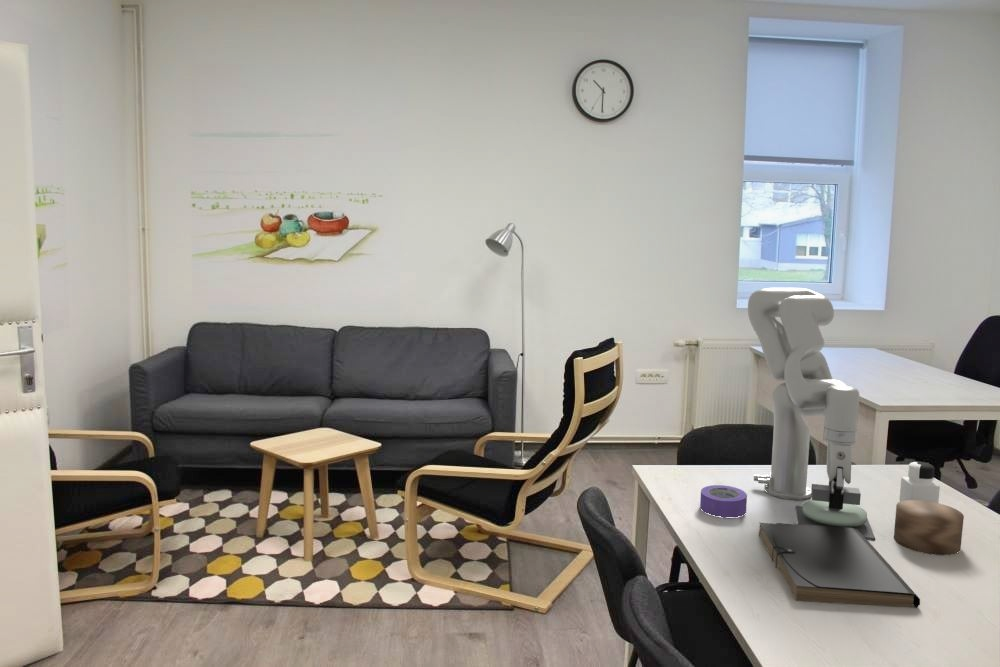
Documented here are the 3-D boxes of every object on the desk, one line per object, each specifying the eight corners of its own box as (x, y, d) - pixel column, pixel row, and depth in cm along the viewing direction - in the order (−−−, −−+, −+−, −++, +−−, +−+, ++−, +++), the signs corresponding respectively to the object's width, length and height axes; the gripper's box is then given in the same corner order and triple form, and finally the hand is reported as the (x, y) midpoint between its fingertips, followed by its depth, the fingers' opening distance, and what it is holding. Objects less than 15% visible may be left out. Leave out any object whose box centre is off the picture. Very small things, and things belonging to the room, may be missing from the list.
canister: (899, 550, 179) (902, 517, 178) (889, 528, 192) (891, 497, 191) (967, 558, 175) (971, 525, 174) (952, 535, 188) (955, 504, 187)
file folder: (758, 520, 187) (861, 527, 184) (756, 536, 187) (859, 543, 185) (795, 583, 154) (921, 592, 152) (793, 603, 155) (919, 612, 152)
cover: (870, 529, 186) (872, 502, 185) (804, 522, 190) (806, 495, 189) (862, 508, 200) (864, 482, 199) (800, 501, 204) (802, 476, 203)
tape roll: (729, 522, 195) (730, 503, 195) (691, 509, 204) (691, 491, 203) (754, 511, 203) (755, 493, 202) (716, 499, 212) (717, 481, 211)
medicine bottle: (926, 502, 210) (930, 460, 209) (938, 512, 203) (942, 468, 202) (898, 501, 211) (902, 459, 209) (909, 510, 204) (913, 467, 202)
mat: (799, 531, 190) (799, 529, 190) (795, 507, 206) (795, 505, 206) (875, 540, 185) (875, 538, 185) (865, 515, 201) (865, 513, 201)
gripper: (860, 445, 183) (855, 519, 186) (852, 428, 199) (846, 496, 201) (826, 442, 185) (821, 515, 188) (820, 425, 201) (816, 492, 204)
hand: (834, 504), depth 195 cm, fingers closed on cover, 3 cm apart
